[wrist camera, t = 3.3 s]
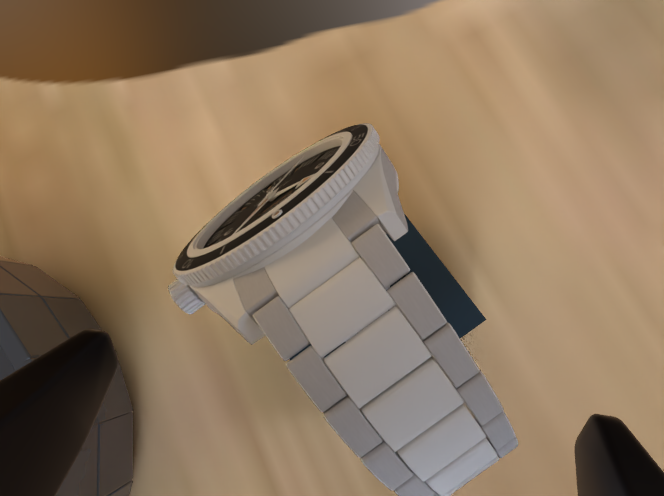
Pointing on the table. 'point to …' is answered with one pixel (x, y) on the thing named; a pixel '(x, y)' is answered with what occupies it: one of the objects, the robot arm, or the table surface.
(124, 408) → the bowl
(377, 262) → the watch
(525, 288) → the table surface
